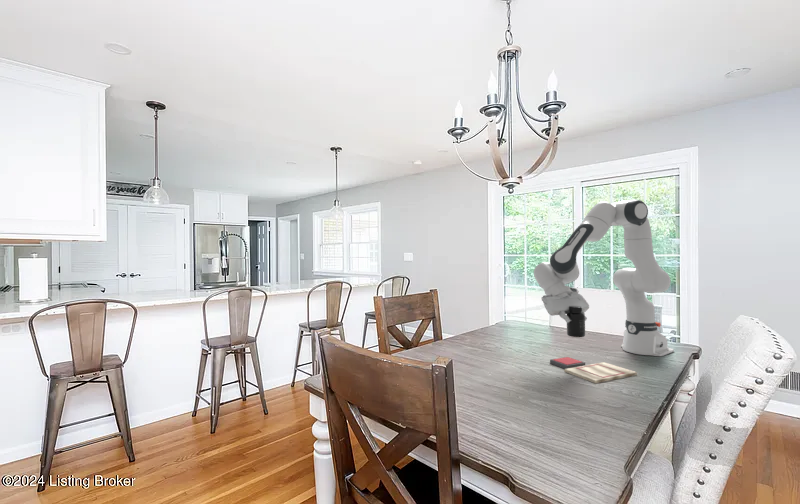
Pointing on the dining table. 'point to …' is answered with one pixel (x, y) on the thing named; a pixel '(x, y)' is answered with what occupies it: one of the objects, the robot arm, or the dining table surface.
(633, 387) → the dining table surface
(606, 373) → the marked board
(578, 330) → the supplement bottle
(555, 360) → the ink pad
